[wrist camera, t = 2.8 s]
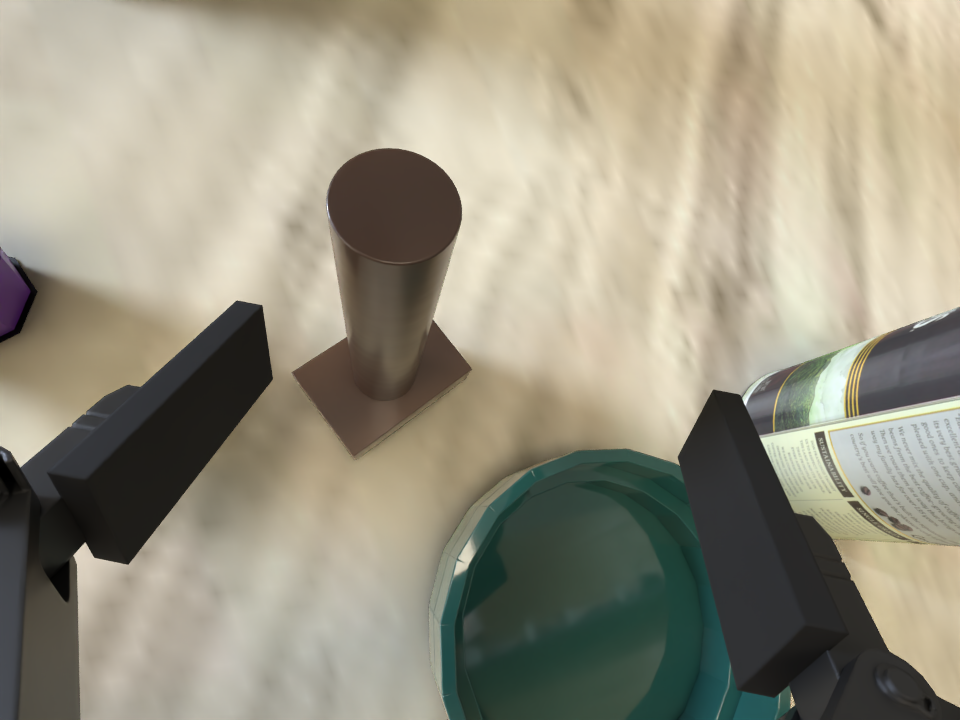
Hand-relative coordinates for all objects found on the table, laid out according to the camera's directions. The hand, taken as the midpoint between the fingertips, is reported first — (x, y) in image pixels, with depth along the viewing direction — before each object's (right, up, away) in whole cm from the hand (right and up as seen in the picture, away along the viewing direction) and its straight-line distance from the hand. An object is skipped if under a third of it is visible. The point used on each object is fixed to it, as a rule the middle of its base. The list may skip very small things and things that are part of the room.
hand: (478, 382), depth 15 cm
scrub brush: (-5, -1, +12) cm, 13 cm away
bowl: (+5, -12, +10) cm, 16 cm away
